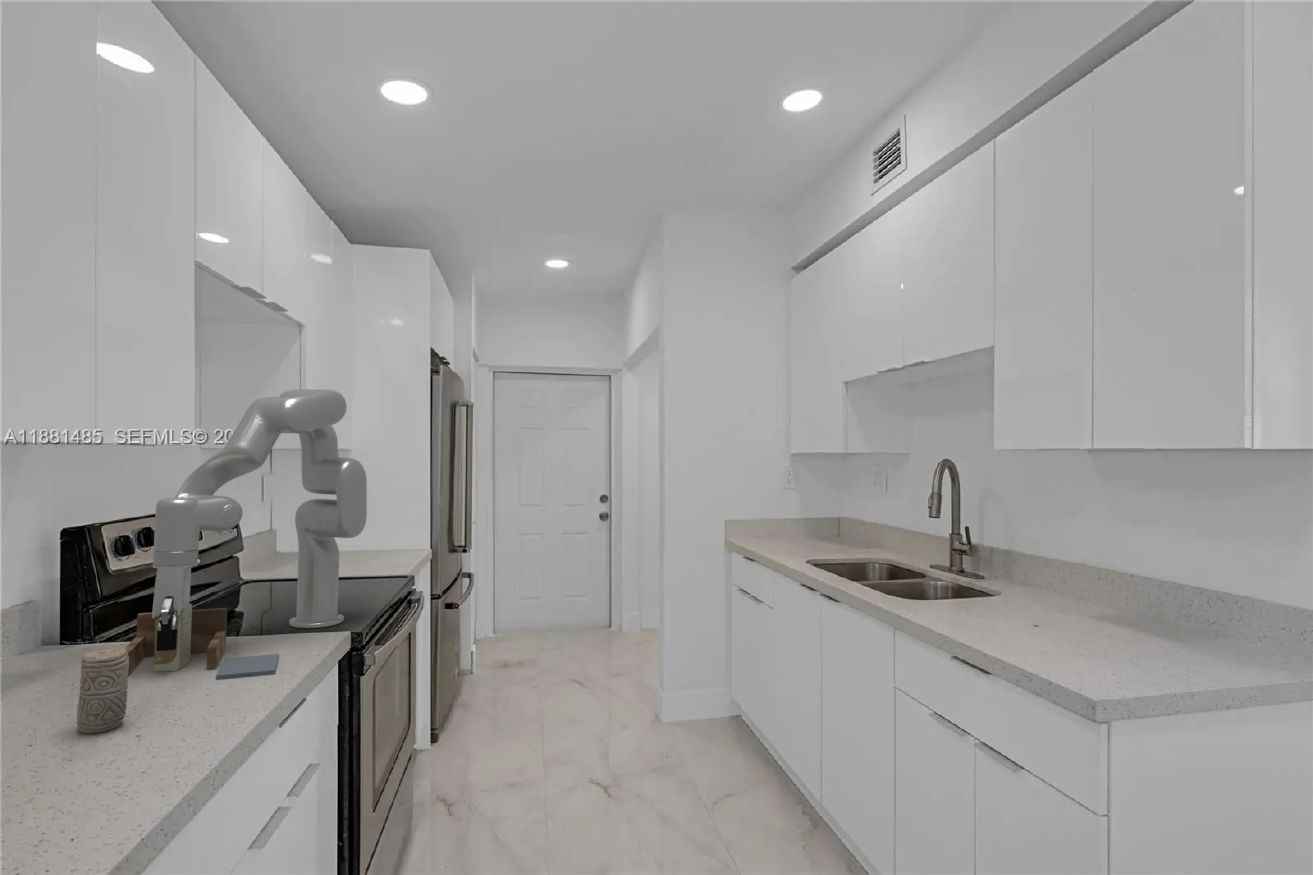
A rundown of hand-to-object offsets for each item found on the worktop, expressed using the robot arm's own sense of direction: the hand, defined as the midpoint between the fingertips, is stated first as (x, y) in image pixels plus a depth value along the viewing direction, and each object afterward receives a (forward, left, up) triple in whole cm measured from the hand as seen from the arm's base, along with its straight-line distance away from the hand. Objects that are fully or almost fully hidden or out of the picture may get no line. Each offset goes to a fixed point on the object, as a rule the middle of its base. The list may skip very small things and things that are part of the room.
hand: (171, 644), depth 142 cm
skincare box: (0, 0, -5) cm, 5 cm away
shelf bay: (-4, 0, -5) cm, 6 cm away
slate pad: (+6, +14, -5) cm, 16 cm away
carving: (+32, -4, -5) cm, 32 cm away
